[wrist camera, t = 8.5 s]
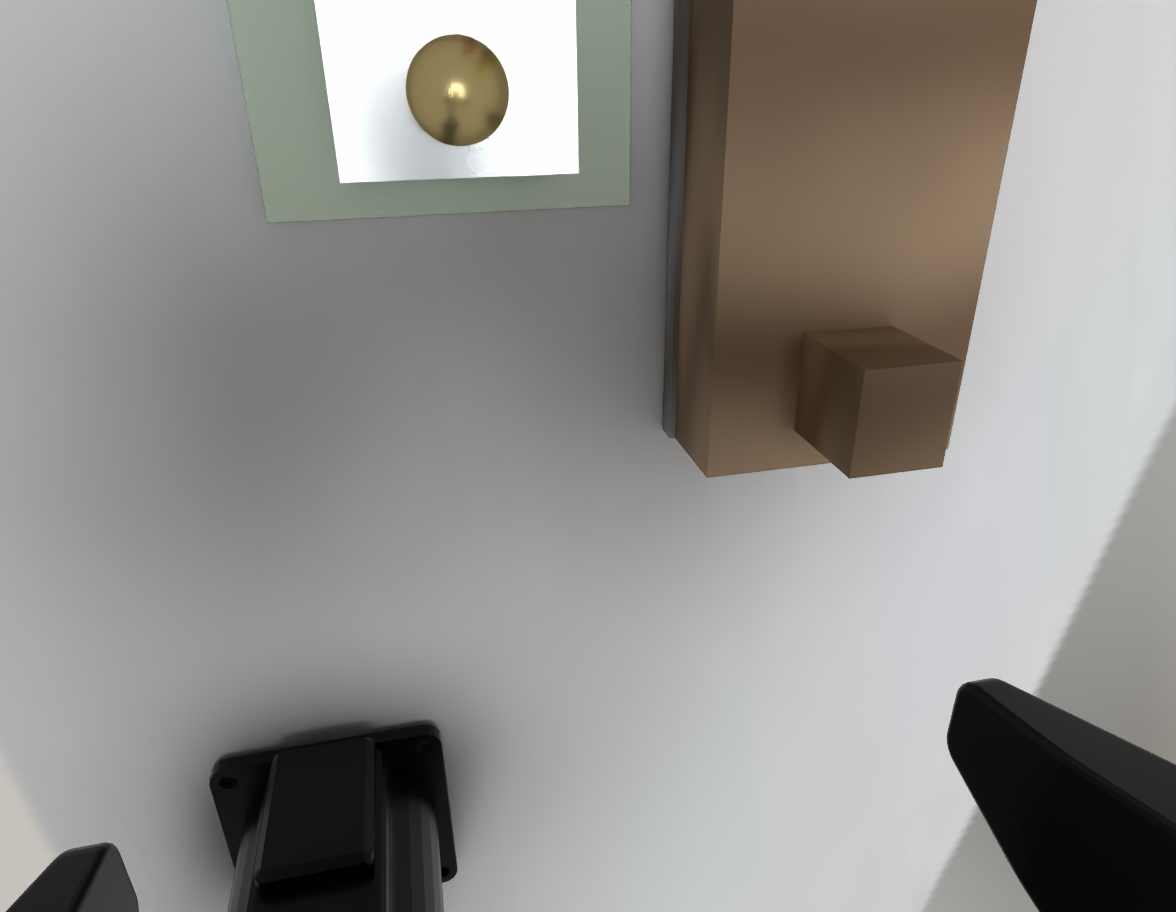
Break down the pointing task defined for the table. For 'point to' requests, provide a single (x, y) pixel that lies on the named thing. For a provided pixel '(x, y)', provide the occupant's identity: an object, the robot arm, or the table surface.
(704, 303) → the plane body
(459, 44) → the white block brass knob
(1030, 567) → the table surface
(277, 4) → the felt pad
